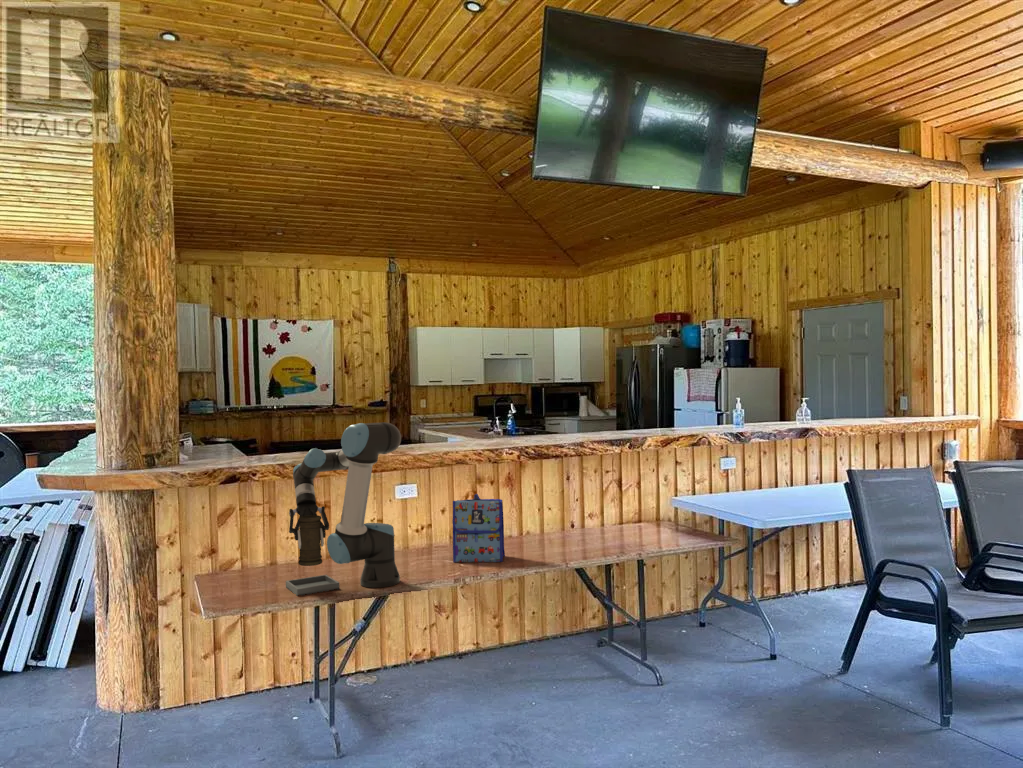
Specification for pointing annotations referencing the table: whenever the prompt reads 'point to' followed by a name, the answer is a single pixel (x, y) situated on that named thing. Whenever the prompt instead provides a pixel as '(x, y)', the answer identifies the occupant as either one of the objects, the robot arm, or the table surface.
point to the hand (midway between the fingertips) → (311, 545)
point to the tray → (312, 585)
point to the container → (310, 540)
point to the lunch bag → (478, 530)
